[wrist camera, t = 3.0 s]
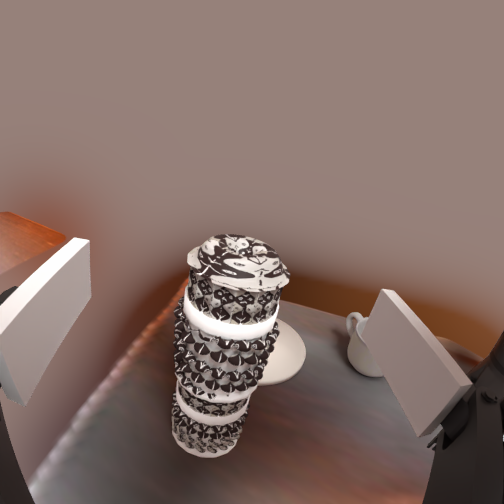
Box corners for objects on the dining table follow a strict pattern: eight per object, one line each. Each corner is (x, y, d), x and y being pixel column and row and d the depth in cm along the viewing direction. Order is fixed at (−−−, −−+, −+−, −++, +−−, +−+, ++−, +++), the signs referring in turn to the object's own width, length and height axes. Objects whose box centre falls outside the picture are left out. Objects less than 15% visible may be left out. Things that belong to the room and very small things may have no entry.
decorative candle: (161, 451, 27) (166, 258, 18) (176, 397, 36) (195, 218, 26) (239, 466, 28) (310, 287, 18) (242, 410, 36) (294, 238, 27)
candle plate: (322, 375, 45) (325, 370, 45) (211, 392, 38) (212, 386, 38) (277, 312, 61) (279, 308, 61) (187, 314, 54) (188, 309, 54)
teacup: (400, 378, 47) (420, 346, 44) (360, 391, 43) (381, 356, 40) (363, 336, 59) (377, 305, 56) (322, 341, 55) (336, 307, 52)
